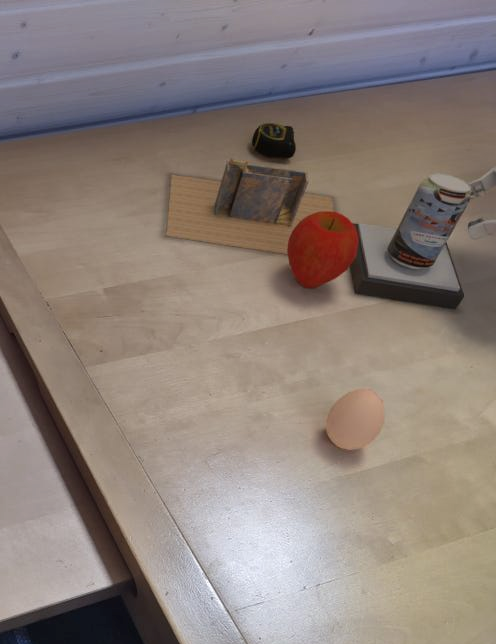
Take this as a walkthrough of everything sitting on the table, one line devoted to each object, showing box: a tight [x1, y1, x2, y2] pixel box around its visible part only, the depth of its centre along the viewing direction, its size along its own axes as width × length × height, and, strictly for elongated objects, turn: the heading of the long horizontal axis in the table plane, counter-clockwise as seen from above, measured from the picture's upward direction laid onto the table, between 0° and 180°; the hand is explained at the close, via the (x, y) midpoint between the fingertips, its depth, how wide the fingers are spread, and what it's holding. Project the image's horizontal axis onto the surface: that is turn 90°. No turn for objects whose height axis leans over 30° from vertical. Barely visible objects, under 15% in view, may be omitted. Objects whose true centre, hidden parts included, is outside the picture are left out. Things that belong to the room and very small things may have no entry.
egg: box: [325, 388, 386, 451], centre depth 76 cm, size 5×5×8 cm
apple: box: [287, 211, 359, 290], centre depth 93 cm, size 9×8×11 cm
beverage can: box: [387, 172, 471, 269], centre depth 92 cm, size 6×7×12 cm
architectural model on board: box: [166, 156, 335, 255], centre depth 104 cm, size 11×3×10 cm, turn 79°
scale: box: [350, 222, 466, 310], centre depth 99 cm, size 13×13×3 cm
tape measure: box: [251, 122, 297, 159], centre depth 119 cm, size 7×7×4 cm
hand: (468, 211), depth 91 cm, fingers open, 8 cm apart
